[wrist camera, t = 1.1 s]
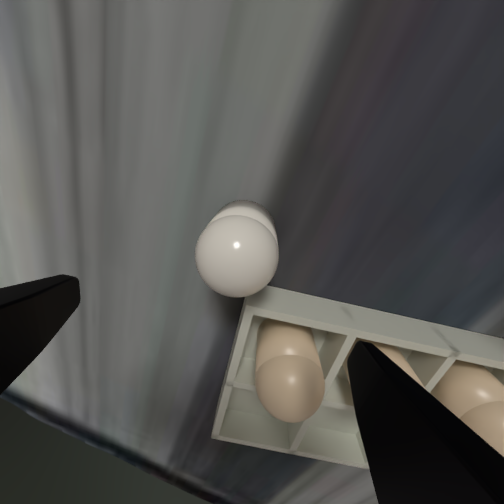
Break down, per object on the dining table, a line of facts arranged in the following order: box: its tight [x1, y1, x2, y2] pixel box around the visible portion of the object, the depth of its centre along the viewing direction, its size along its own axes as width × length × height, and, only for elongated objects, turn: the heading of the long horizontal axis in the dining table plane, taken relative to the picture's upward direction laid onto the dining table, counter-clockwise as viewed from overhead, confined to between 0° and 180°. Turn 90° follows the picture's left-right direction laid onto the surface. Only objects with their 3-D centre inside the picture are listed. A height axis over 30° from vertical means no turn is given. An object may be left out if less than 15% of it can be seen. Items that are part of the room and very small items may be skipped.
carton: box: [211, 285, 504, 469], centre depth 18 cm, size 22×15×7 cm
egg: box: [195, 200, 279, 297], centre depth 13 cm, size 4×4×6 cm
